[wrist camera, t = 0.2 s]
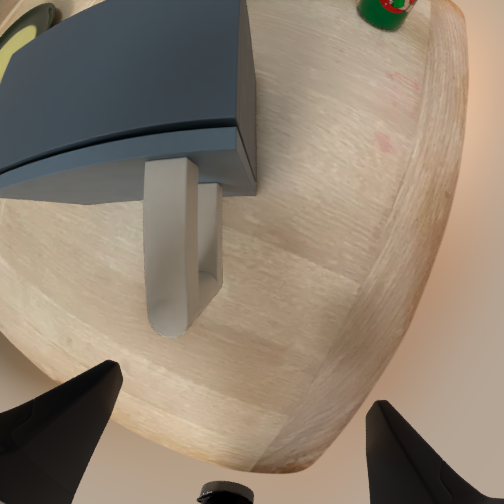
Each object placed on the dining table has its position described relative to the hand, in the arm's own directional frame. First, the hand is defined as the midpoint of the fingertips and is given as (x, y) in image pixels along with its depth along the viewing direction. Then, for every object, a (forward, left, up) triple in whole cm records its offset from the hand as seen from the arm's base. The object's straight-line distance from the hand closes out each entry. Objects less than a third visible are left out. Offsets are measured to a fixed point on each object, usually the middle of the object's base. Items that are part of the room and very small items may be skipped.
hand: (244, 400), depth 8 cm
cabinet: (+3, +15, -13) cm, 21 cm away
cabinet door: (-3, +9, -13) cm, 16 cm away
